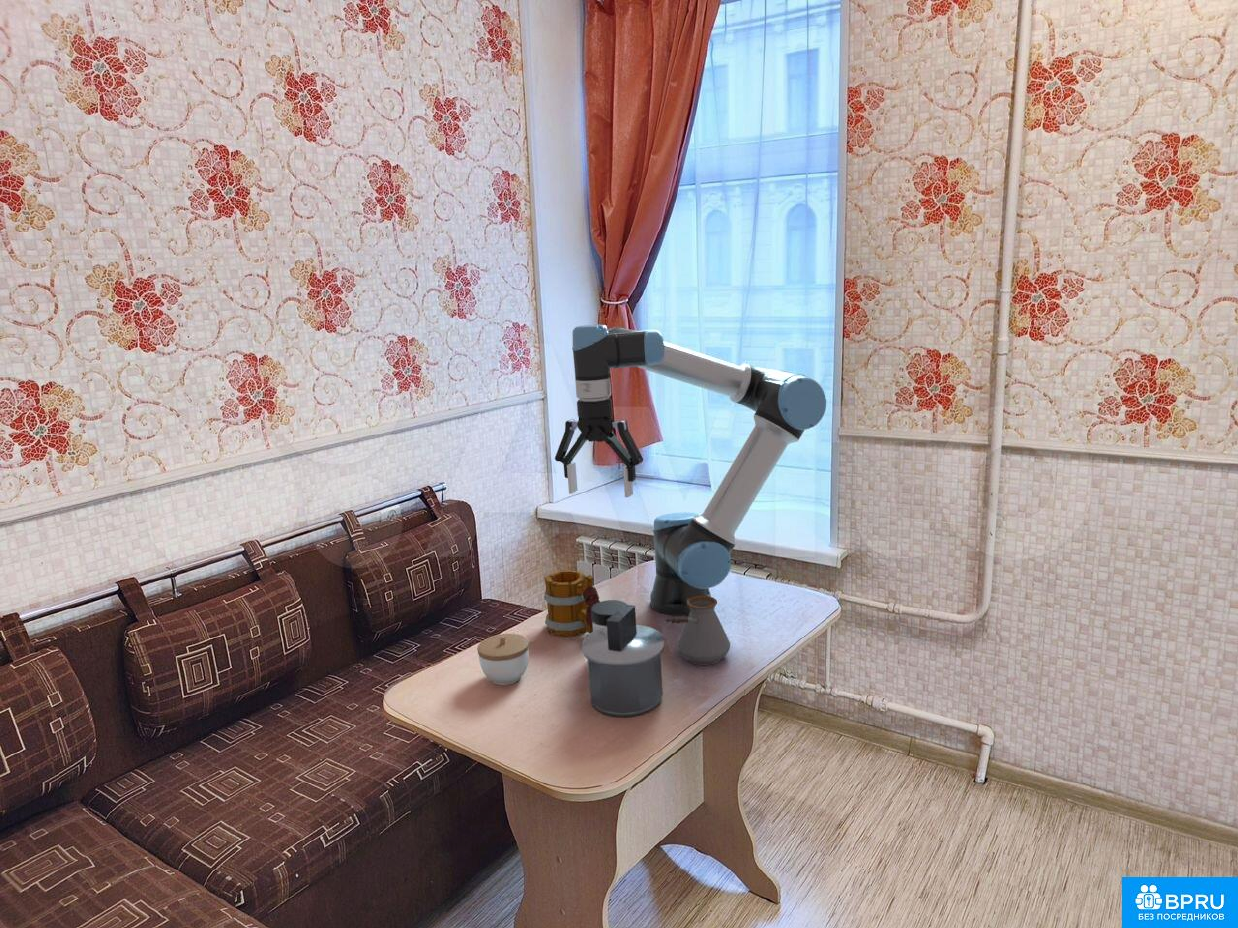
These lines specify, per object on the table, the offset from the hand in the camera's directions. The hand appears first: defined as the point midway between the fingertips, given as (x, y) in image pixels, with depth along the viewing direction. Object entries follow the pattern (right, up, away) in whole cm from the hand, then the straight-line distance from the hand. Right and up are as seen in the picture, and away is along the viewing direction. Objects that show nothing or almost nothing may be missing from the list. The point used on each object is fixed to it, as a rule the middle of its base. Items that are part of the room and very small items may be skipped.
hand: (600, 494), depth 182 cm
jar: (+3, -36, -1) cm, 36 cm away
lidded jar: (-20, -39, -7) cm, 44 cm away
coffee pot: (+20, -36, -7) cm, 42 cm away
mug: (-6, -33, +14) cm, 37 cm away
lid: (+5, -30, -21) cm, 37 cm away
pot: (+4, -39, -17) cm, 43 cm away
